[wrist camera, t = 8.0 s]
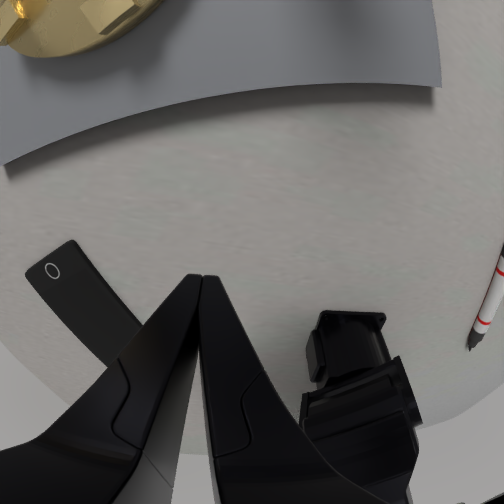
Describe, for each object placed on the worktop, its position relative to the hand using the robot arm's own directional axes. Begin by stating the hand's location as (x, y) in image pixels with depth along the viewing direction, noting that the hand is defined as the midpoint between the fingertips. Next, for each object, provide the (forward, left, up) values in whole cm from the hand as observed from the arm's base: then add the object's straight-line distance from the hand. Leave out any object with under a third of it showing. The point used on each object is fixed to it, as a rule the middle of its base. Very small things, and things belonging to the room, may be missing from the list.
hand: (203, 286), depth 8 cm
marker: (-29, +10, -14) cm, 33 cm away
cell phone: (+12, +17, -14) cm, 25 cm away
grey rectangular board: (+7, -15, -13) cm, 21 cm away
